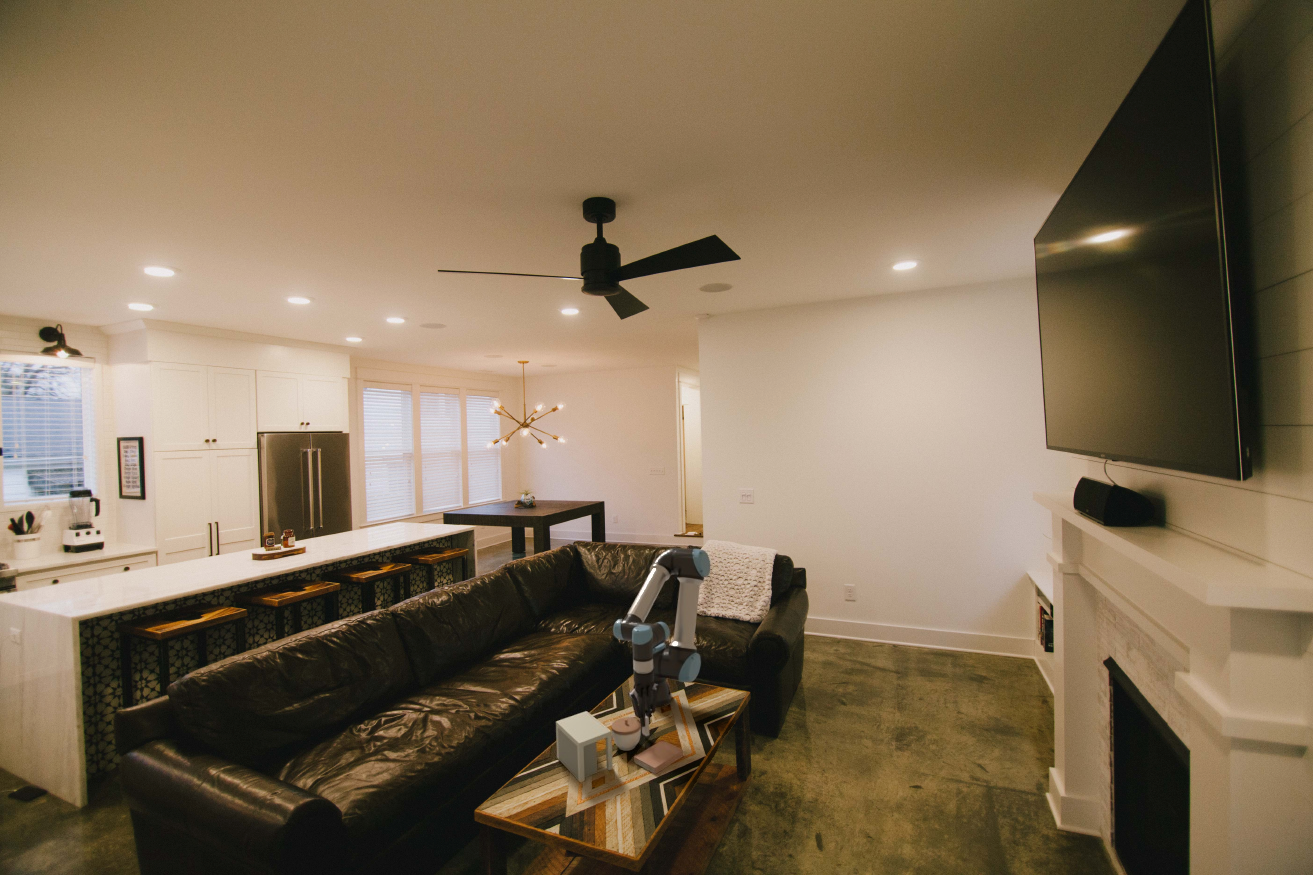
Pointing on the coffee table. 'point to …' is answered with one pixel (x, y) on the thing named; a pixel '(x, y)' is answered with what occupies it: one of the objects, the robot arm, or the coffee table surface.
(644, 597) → the robot arm
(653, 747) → the book
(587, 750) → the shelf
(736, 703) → the coffee table surface
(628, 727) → the lidded jar
